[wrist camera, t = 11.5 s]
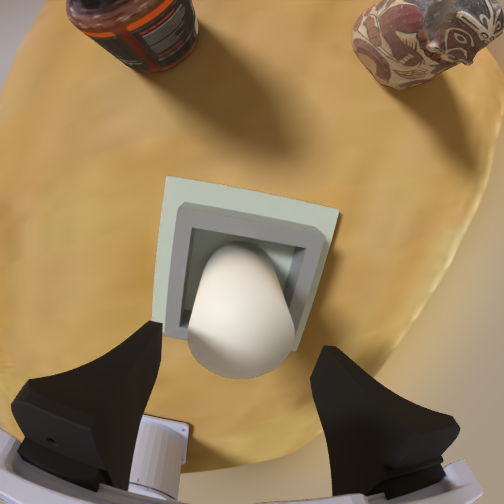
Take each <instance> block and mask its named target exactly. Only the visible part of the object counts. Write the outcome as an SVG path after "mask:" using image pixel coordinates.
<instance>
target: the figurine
mask: <svg viewBox="0 0 504 504" xmlns="http://www.w3.org/2000/svg"><path fill="white" fill-rule="evenodd" d="M503 23H504V15H503V11H502V9H501V6H500V5H499V3H498V2H497V1H496V0H383V1H381V2H379V3H377V4H375V5H374V6H372V7H370V8H369V9H368V10H366V11H365V12H364V13H362V14H361V15H360V17H359V18H358V20H357V21H356V23H355V25H354V28H353V31H352V34H351V42H352V47H353V50H354V51H355V52H356V54H357V55H358V57H359V59H360V60H361V62H362V63H363V64H364V65H365V66H366V68H367V69H368V70H370V71H371V73H372V74H373V76H374V78H375V79H376V80H377V81H378V82H379V83H380V84H383V85H387V86H390V87H393V88H394V89H397V90H403V89H405V88H408V87H412V86H415V85H419V84H423V83H426V82H429V81H431V80H432V79H433V78H434V77H435V76H436V75H438V74H440V73H442V72H444V71H446V70H448V69H449V68H451V67H454V66H456V65H458V64H459V63H461V62H462V63H463V64H465V65H468V66H469V65H471V64H473V59H474V57H475V55H476V53H477V52H478V51H479V50H481V49H483V48H485V47H486V46H487V45H488V44H489V43H490V42H491V41H493V40H494V39H495V38H497V37H498V36H499V35H501V34H502V33H503V30H504V25H503Z"/></svg>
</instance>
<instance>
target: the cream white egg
mask: <svg viewBox="0 0 504 504" xmlns="http://www.w3.org/2000/svg"><path fill="white" fill-rule="evenodd" d="M187 339H188V344H189V348H190V350H191V352H192V354H193V356H194V357H195V359H196V360H197V361H198V362H199V363H200V364H201V365H202V366H203V367H205V368H206V369H208V370H209V371H211V372H213V373H215V374H217V375H220V376H223V377H227V378H234V379H247V378H254V377H258V376H261V375H264V374H266V373H268V372H270V371H272V370H274V369H275V368H277V367H278V366H279V365H280V364H282V363H283V362H284V361H285V359H286V358H287V357H288V355H289V354H290V352H291V350H292V347H293V344H294V340H295V329H294V324H293V321H292V318H291V315H290V313H289V310H288V307H287V304H286V301H285V298H284V295H283V292H282V290H281V287H280V284H279V281H278V278H277V275H276V272H275V270H274V267H273V264H272V261H271V259H270V258H269V256H268V255H267V253H266V252H265V251H264V250H263V249H261V248H260V247H259V246H257V245H255V244H253V243H250V242H246V241H232V242H228V243H225V244H223V245H221V246H219V247H218V248H216V249H215V250H214V251H213V252H212V253H211V254H210V256H209V257H208V259H207V261H206V263H205V266H204V270H203V273H202V277H201V281H200V284H199V288H198V291H197V295H196V299H195V303H194V306H193V310H192V314H191V318H190V322H189V326H188V331H187Z"/></svg>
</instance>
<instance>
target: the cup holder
mask: <svg viewBox="0 0 504 504" xmlns="http://www.w3.org/2000/svg"><path fill="white" fill-rule="evenodd" d="M339 211H340V210H338V209H335V208H331V207H327V206H323V205H319V204H314V203H310V202H306V201H301V200H297V199H292V198H288V197H283V196H278V195H274V194H269V193H264V192H259V191H254V190H249V189H244V188H238V187H233V186H228V185H222V184H216V183H211V182H205V181H199V180H193V179H187V178H180V177H174V176H167V178H166V184H165V191H164V197H163V204H162V212H161V219H160V227H159V236H158V245H157V255H156V266H155V278H154V291H153V308H152V321H154V322H159V323H163V330H162V332H164V336H167V337H172V338H177V339H182V340H188V339H187V331H188V326H189V322H190V318H191V314H192V310H193V306H194V303H195V299H196V295H197V291H198V288H199V284H200V281H201V277H202V273H203V270H204V266H205V263H206V261H207V259H208V257H209V256H210V254H211V253H212V252H213V251H214V250H215V249H216V248H218V247H219V246H221V245H223V244H225V243H228V242H232V241H246V242H250V243H253V244H255V245H257V246H259V247H260V248H261V249H263V250H264V251H265V252H266V253H267V255H268V256H269V258H270V259H271V261H272V264H273V267H274V270H275V272H276V275H277V278H278V281H279V284H280V287H281V290H282V292H283V295H284V298H285V301H286V304H287V307H288V310H289V313H290V315H291V318H292V321H293V324H294V329H295V340H294V344H293V347H292V350H291V351H295V352H296V351H297V349H298V346H299V343H300V340H301V337H302V334H303V331H304V328H305V326H306V323H307V320H308V317H309V314H310V310H311V307H312V304H313V301H314V298H315V295H316V292H317V289H318V285H319V282H320V279H321V275H322V272H323V269H324V265H325V262H326V258H327V255H328V251H329V248H330V244H331V241H332V237H333V233H334V230H335V226H336V222H337V218H338V214H339Z"/></svg>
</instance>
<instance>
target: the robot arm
mask: <svg viewBox="0 0 504 504" xmlns="http://www.w3.org/2000/svg"><path fill="white" fill-rule="evenodd" d="M162 330H163V323H159V322H154V321H148V322H146V323H145V324H144V325H143V326H142V327H141V328H140V329H138V330H137V331H136V332H135V333H134V334H132V335H131V336H130V337H129V338H127V339H126V340H125V341H124V342H122V343H121V344H120V345H118V346H117V347H115V348H114V349H112V350H111V351H109V352H108V353H106V354H105V355H103V356H101V357H100V358H98V359H96V360H94V361H92V362H90V363H87V364H85V365H83V366H80V367H78V368H75V369H73V370H70V371H67V372H63V373H60V374H56V375H52V376H47V377H41V378H35V379H29V380H28V381H27V382H26V383H25V385H24V386H23V387H22V389H21V390H20V392H19V393H18V395H17V396H16V398H15V399H14V401H13V402H12V404H11V410H12V413H13V416H14V418H15V420H16V422H17V423H18V425H19V427H20V429H21V431H22V432H23V434H24V436H25V438H24V440H23V442H22V443H21V442H20V441H19V440H18V439H17V438H16V437H14V436H13V435H11V434H9V433H7V432H6V431H4V430H2V429H1V428H0V500H1V501H3V502H4V503H5V504H188V503H182V502H181V501H177V500H178V491H179V481H180V472H181V464H185V463H186V454H187V444H188V434H189V425H188V424H187V423H183V422H177V421H172V420H167V419H162V418H157V417H152V416H148V415H144V414H143V413H144V410H145V408H146V405H147V402H148V400H149V397H150V394H151V392H152V389H153V386H154V384H155V381H156V378H157V374H158V370H159V366H160V362H161V349H162ZM310 381H311V388H312V394H313V398H314V402H315V405H316V408H317V411H318V415H319V418H320V421H321V424H322V427H323V430H324V433H325V437H326V442H327V447H328V453H329V460H330V468H331V478H332V495H333V496H332V497H325V498H316V499H306V500H293V501H274V502H263V503H256V504H471V503H472V502H474V501H475V500H476V499H477V498H479V497H480V496H481V495H482V494H483V491H482V489H481V487H480V485H479V484H478V482H477V480H476V478H475V477H474V475H473V473H472V472H471V470H470V468H469V467H468V465H467V464H466V462H465V460H464V459H460V460H458V461H456V462H453V463H451V464H449V465H447V466H445V467H444V468H442V466H441V463H442V462H443V458H442V456H441V455H442V454H443V453H444V452H445V451H446V449H447V448H448V447H449V446H450V445H451V444H452V443H453V442H454V440H455V439H456V438H457V436H458V434H459V432H460V427H459V425H458V424H457V423H456V421H455V419H454V418H453V417H452V416H450V415H447V414H443V413H439V412H435V411H432V410H429V409H427V408H424V407H421V406H419V405H416V404H414V403H412V402H410V401H408V400H406V399H404V398H402V397H400V396H399V395H397V394H395V393H394V392H392V391H391V390H389V389H387V388H386V387H384V386H383V385H382V384H380V383H379V382H377V381H376V380H375V379H374V378H372V377H371V376H370V375H369V374H367V373H366V372H365V371H364V370H363V369H361V368H360V367H359V366H358V365H357V364H356V363H355V362H353V361H352V360H351V359H350V358H349V357H348V356H347V355H345V354H344V353H343V352H342V351H341V350H340V349H338V348H337V347H335V346H323V348H322V351H321V353H320V356H319V358H318V361H317V363H316V365H315V368H314V370H313V373H312V375H311V377H310Z"/></svg>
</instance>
